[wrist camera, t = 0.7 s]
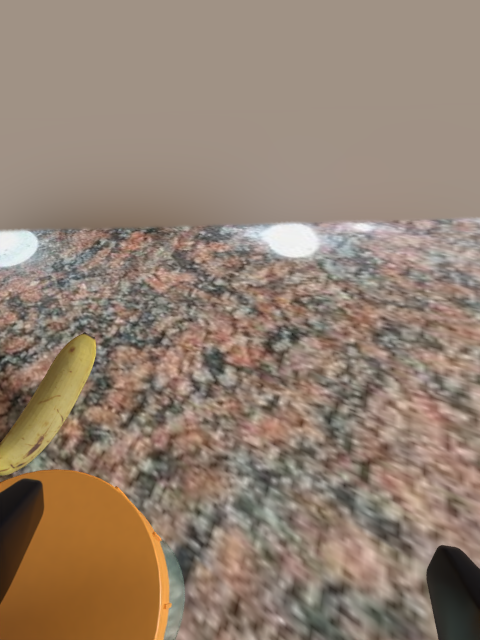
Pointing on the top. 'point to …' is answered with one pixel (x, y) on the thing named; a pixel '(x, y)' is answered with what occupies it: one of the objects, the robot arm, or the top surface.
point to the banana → (48, 405)
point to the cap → (87, 567)
